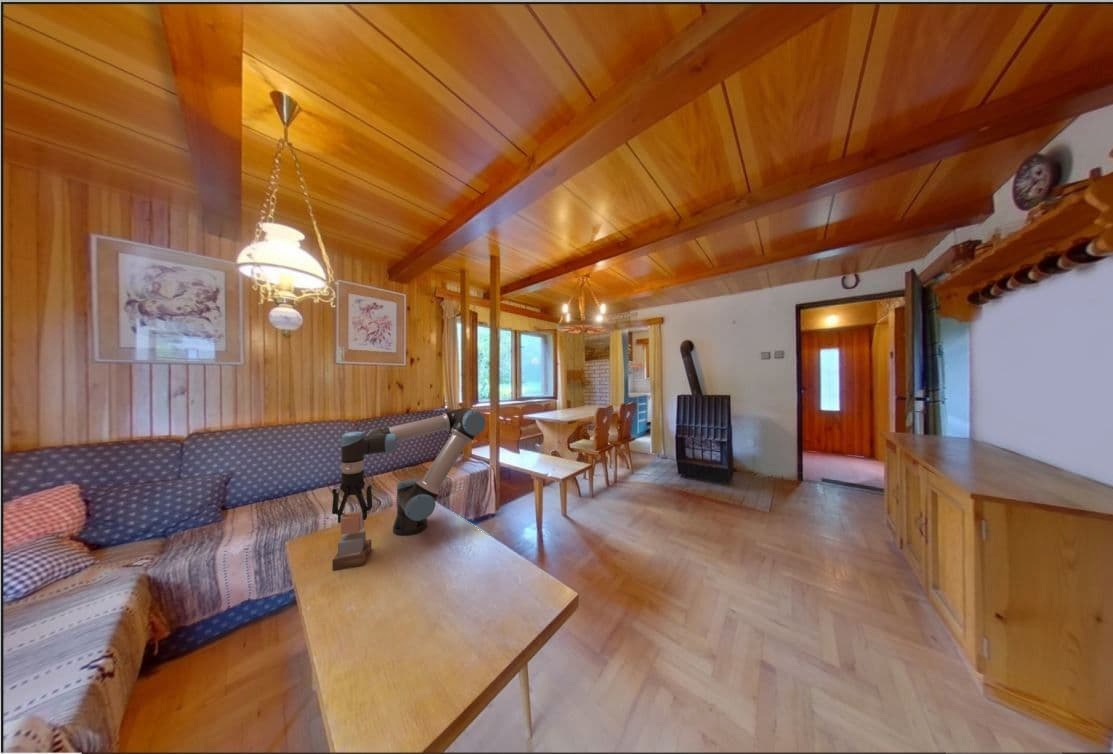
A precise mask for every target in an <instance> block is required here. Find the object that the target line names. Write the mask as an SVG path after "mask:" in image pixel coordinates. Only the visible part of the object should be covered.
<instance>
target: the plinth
mask: <svg viewBox="0 0 1113 754" xmlns="http://www.w3.org/2000/svg"><path fill="white" fill-rule="evenodd" d="M371 551H372V539H366V542H365V545H364V548H363V551H362V552H359V553H354V554H349V555H344V556H339V557H338V552H337V553H336V555H335V556H334V557H333V558H332V571H338V570H345V569H351V568H358V567H363V566H364V564H365V562H366V561H367V558H368V557H369V555H370V553H371Z"/></svg>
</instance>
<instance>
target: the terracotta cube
mask: <svg viewBox="0 0 1113 754" xmlns="http://www.w3.org/2000/svg"><path fill="white" fill-rule="evenodd" d="M361 512H362V510H357V511H347V512H345V515H344V517H343V518H342V519H341V523H340V533H341V534H340V535H341V536H342V534H350V533H358V532H359V531H361V530H360V513H361Z"/></svg>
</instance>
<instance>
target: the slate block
mask: <svg viewBox="0 0 1113 754" xmlns="http://www.w3.org/2000/svg"><path fill="white" fill-rule="evenodd" d="M366 533H367V532H366V529H361V530H360V531H359V532H358V533H350V534H342V535H341V537H340V538H339V541H338V542H337V553H338V557H339V556H344V555H349V554H354V553H359V552H362V551H363V548H364V545H365V542H366V540H367V534H366Z"/></svg>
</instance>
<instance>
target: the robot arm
mask: <svg viewBox="0 0 1113 754" xmlns="http://www.w3.org/2000/svg"><path fill="white" fill-rule="evenodd" d="M486 424H487V423H486V418H485V415H484V414H483V413H482V412H480V411H478V410H477V409H471V408H467V407H461V408H457V409H453V410H448V411H446V412H443V413H442V414H441V415H438V416H433V417H432V416H431V417H429V418H424V419H421V420H416V421H415V420H414V421H411V422H406V423H402V424H399V425H398V424H397V425H393V426H389V427H386V428H380V429H379V428H374V429H371V430H370V431H369V432H368V433H367V434H366V435H365V433H364V431H348V432H346V433H343V435H342V436H341V445H340V446H341V447H340V448H341V451H340V453H341V457H340V458H341V469H340V470H341V474H340V475H341V476H340V478H341V481H340V482H341V485H340V486H335V487H334V488H333V489H332V490H331V492H332V496H333V497H332V506H331V507H332V508H331V509H332V510H331V514H332V515H337V523H338V524H341V519H342V518H343V517H344V515H345V514H346V512H344V511H345V507H346V504H347V503H348V498H349V497H350V496H355V497H356V498H357V501H358V503H359V507H360V509H361V511H362V512H361V513H360V531H362V530H364V528H365V521H366V520H367V518H368V511H371V509H372V508H373V495H372V489H373V483H369V484H367V483H366V482H365V471H364V469H365V456H369V455H375V454H376V455H377V454H382V453H383V454H384V453H387V454H388V453H390V452H391V453H392V452H395V451H396V450H397V449H398V443H399V442H402V441H406V440H410V439H414V438H419V437H422V436H425V435H431V434H433V433H438V432H441V431H447V432H451V435H450V436H449V438H448V439H447V441H446V442H445V444H444V445H443V447H442V449H441V450H440V451H439V453H438V454H437V456H436V458H435V459H434V460H433V461H432V464H431V465H430V467H429V469H427V471H426V473H425V475H424V476H423V477H422V478H411V479H405V480H402V481H400V482H398V483H397V485H396V516H395V520H394V522H393V526H392V533H393V534H394V535H395V536H399V537H406V536H412V535H416V534H418V533H421V532H423V531H424V530H425V529H427V527H428V518H429V517H430V516H431V515H433V512H434V510H435V509H436V500H437V498H438V497H439V495H440V491H439V490H440V487H441V485H442V484H443V482H444V481H445V479H446V478H447V476H448V475H449V474H450V471H451V470H452V469H453V466H454V465H455V463H456V462H457V460H458V459H459V457H460V455H461V454H462V452H463V450H464V449H465V448H466V446H467V444H468V443H470V442H471V443H472V442H473V440H474V439H475V437H476V436H478V435H479V434H481V433H482V432H483V431H484V430H485V429H486ZM363 489H364V490H365V491H366V492H365V494H366V501H365V497H364V495H363ZM341 491H342V493H343V495H342V498H341V499H342V500H341V503H339V502H340V499H339V498H340V492H341ZM339 504H340V506H339Z"/></svg>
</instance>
